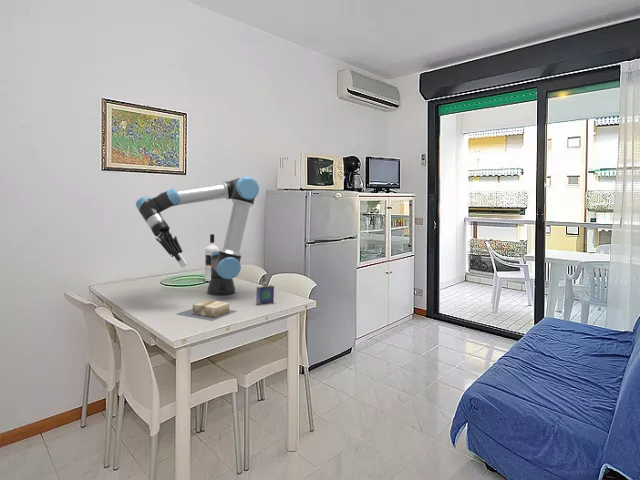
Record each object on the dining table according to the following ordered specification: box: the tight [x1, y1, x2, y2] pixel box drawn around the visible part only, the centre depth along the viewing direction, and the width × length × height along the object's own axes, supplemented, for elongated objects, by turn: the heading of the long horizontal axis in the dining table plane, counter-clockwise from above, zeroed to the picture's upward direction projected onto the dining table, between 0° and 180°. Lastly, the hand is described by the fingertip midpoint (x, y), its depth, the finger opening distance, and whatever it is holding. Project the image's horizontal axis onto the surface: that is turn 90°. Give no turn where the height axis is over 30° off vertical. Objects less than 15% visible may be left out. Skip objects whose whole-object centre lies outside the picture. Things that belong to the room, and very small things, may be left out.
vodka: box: [203, 233, 219, 279], centre depth 249 cm, size 9×9×30 cm
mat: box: [176, 308, 238, 322], centre depth 177 cm, size 20×18×1 cm
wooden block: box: [192, 299, 230, 318], centre depth 175 cm, size 4×10×12 cm
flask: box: [255, 282, 275, 306], centre depth 198 cm, size 9×3×11 cm, turn 121°
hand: (184, 265), depth 182 cm, fingers closed
